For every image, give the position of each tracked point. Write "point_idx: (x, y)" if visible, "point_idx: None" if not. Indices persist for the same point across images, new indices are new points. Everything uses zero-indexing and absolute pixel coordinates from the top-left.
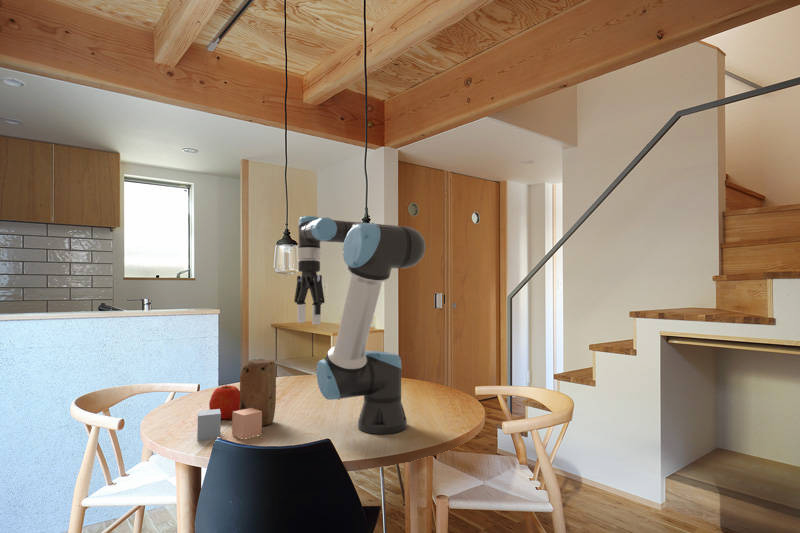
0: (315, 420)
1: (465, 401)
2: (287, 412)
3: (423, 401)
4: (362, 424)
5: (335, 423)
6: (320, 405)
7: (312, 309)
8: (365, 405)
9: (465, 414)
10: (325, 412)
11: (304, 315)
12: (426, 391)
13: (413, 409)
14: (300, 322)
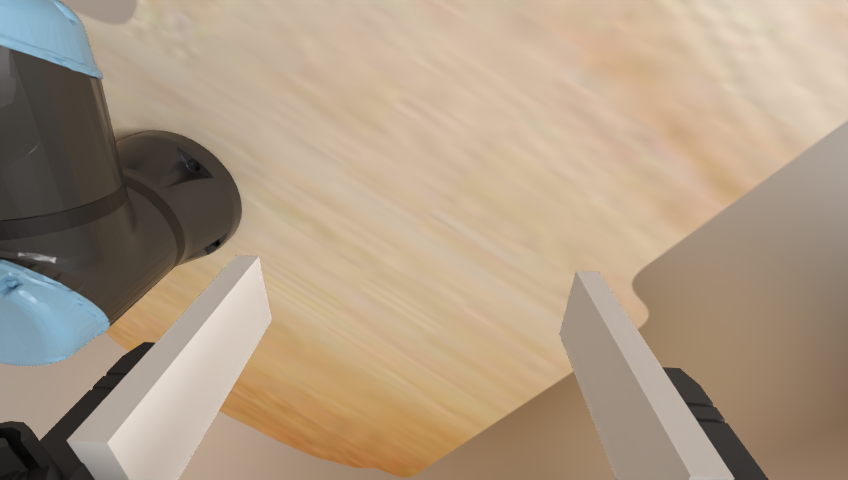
0: (333, 87)
1: (290, 435)
2: (483, 63)
3: (342, 389)
4: (146, 135)
5: (271, 118)
6: (485, 196)
7: (157, 379)
8: (123, 166)
9: None
10: (399, 162)
11: (583, 385)
12: (419, 443)
13: (290, 335)
14: (570, 292)
